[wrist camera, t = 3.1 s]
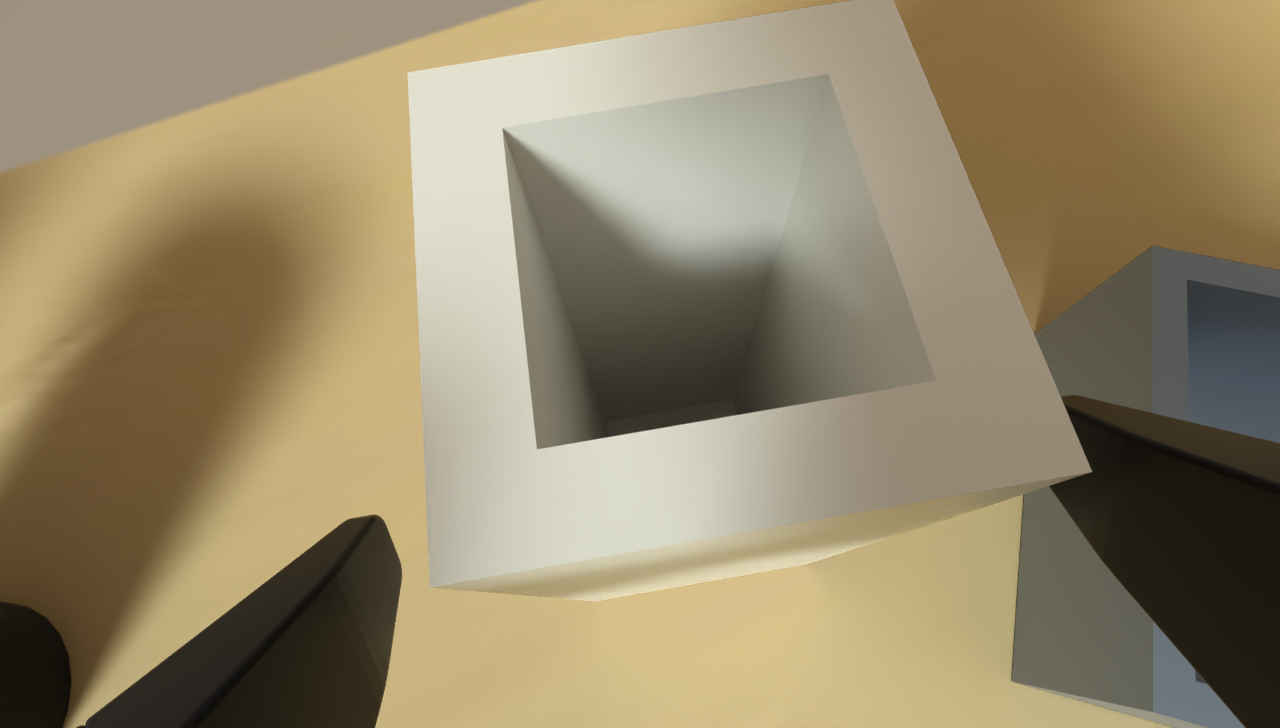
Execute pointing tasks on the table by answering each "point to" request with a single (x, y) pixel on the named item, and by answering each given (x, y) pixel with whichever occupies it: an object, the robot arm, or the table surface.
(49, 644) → the cup
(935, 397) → the white square vase
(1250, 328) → the low crate
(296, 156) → the table surface
